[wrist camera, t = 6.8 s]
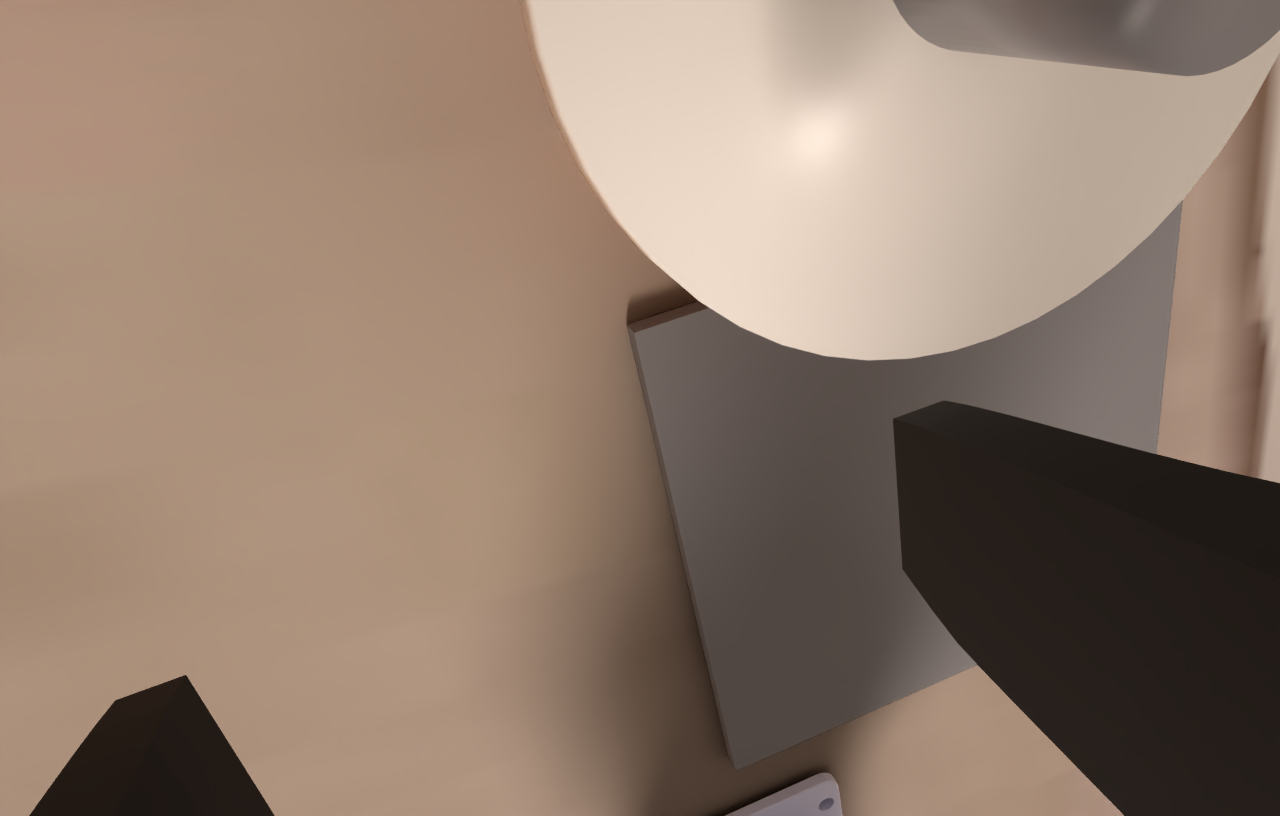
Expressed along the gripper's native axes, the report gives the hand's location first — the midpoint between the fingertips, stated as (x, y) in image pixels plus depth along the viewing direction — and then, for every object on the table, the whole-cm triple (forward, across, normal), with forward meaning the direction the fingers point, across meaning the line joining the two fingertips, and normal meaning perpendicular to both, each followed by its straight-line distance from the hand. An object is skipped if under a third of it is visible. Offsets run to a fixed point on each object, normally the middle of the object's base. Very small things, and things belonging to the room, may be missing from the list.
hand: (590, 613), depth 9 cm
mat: (+10, -10, +8) cm, 17 cm away
